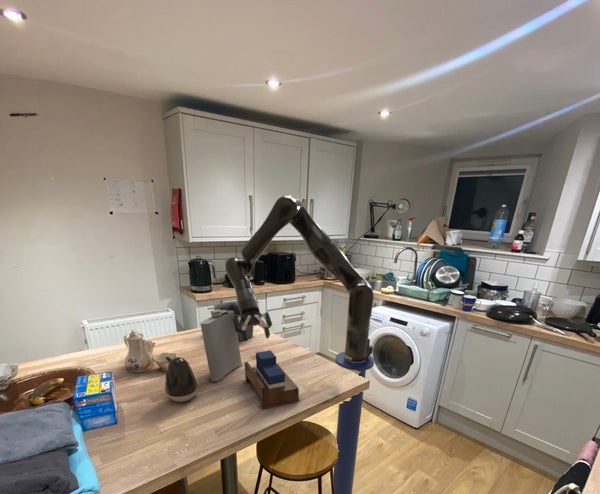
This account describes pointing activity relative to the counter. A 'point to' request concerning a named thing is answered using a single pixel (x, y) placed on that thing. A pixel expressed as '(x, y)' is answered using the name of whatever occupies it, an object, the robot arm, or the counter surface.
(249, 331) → the storage bin
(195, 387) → the dark brown tall dome
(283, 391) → the shoe shelf
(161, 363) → the chinaware
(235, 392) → the counter surface
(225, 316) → the flask
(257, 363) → the trainer
